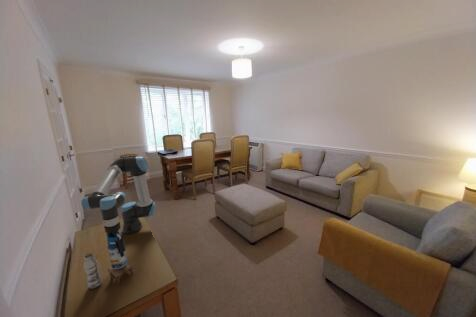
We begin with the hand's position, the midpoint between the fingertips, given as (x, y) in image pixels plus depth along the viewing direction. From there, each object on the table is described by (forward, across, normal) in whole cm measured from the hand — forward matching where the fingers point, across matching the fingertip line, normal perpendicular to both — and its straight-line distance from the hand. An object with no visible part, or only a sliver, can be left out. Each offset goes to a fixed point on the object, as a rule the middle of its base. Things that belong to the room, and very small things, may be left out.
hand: (118, 258), depth 116 cm
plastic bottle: (+13, -7, -12) cm, 19 cm away
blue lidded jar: (+4, 0, 0) cm, 4 cm away
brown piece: (+13, 0, 0) cm, 13 cm away
